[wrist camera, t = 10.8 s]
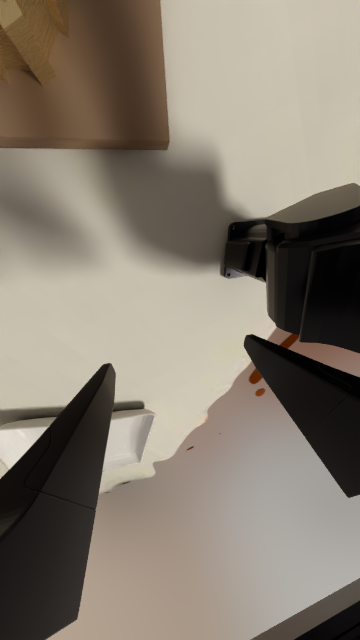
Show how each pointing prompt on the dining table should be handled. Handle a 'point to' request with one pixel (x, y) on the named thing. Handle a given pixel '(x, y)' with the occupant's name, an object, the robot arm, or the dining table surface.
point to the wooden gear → (31, 35)
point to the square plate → (122, 443)
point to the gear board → (94, 84)
